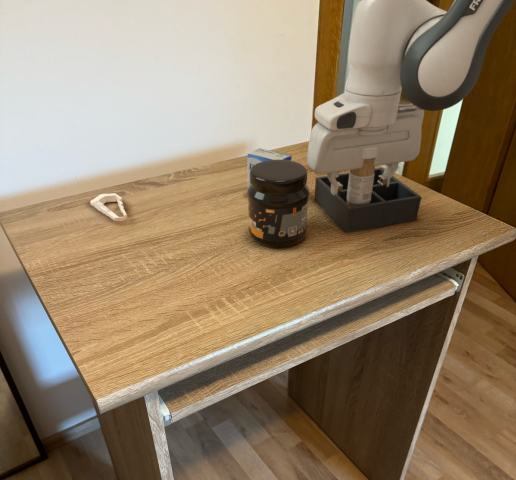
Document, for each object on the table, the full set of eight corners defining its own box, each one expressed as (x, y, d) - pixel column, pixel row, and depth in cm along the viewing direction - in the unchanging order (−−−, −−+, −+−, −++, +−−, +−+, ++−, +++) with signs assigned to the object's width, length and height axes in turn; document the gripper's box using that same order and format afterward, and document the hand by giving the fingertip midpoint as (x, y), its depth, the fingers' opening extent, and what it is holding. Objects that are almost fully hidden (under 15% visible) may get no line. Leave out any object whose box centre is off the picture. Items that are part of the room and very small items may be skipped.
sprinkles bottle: (360, 209, 94) (370, 137, 85) (373, 219, 91) (384, 145, 82) (339, 213, 93) (347, 140, 84) (351, 223, 89) (360, 149, 81)
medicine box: (247, 195, 101) (245, 153, 95) (259, 188, 104) (258, 146, 98) (278, 204, 97) (279, 161, 92) (290, 196, 100) (292, 154, 94)
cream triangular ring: (141, 219, 93) (139, 210, 92) (117, 226, 91) (115, 218, 90) (111, 196, 101) (110, 188, 100) (89, 203, 99) (87, 195, 98)
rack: (378, 189, 102) (381, 167, 99) (416, 219, 92) (421, 196, 89) (314, 199, 99) (315, 177, 96) (346, 232, 89) (349, 209, 85)
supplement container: (242, 225, 91) (240, 161, 83) (296, 218, 93) (299, 155, 85) (256, 253, 83) (255, 186, 75) (314, 245, 85) (319, 178, 77)
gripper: (415, 96, 84) (400, 175, 93) (305, 109, 79) (301, 191, 88) (436, 106, 79) (419, 188, 88) (321, 120, 75) (315, 205, 84)
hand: (359, 189), depth 88 cm, fingers open, 8 cm apart
